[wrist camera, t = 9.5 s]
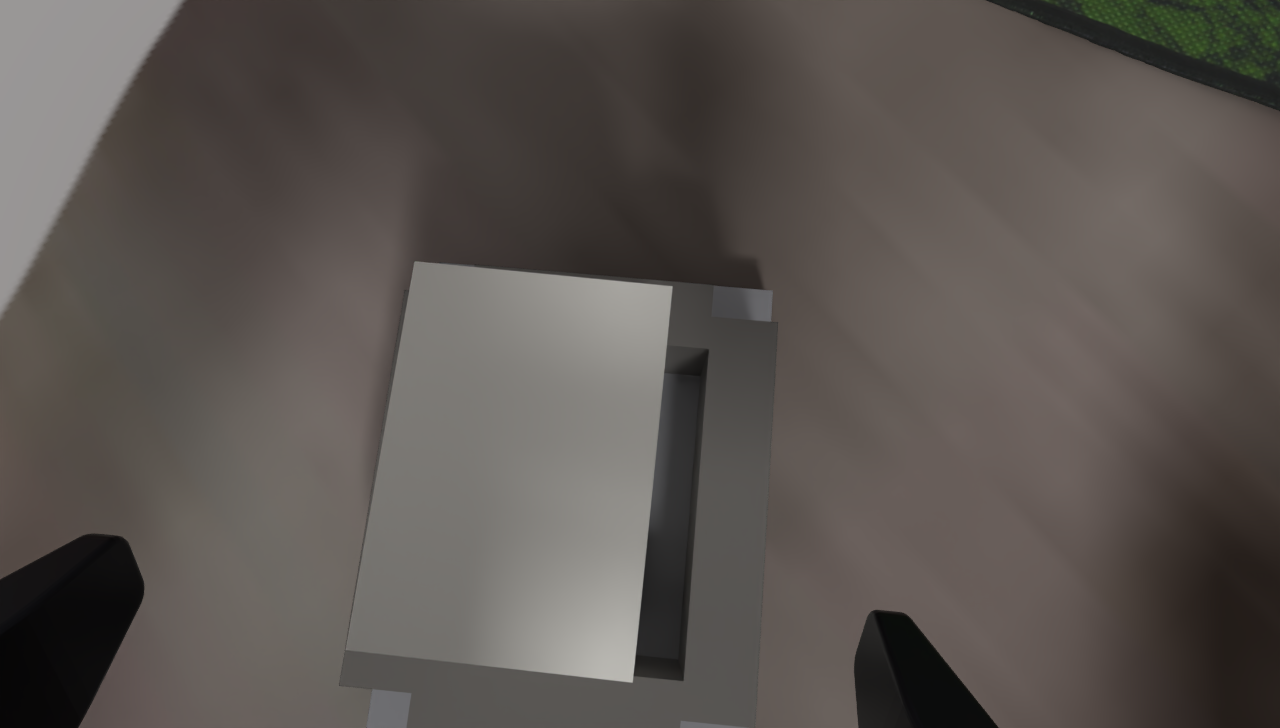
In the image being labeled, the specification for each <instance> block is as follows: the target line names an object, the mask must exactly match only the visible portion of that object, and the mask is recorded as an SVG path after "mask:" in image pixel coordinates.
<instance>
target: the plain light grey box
mask: <svg viewBox="0 0 1280 728" xmlns="http://www.w3.org/2000/svg"><path fill="white" fill-rule="evenodd" d="M672 287H673V286H664V285H654V284H644V283H633V282H623V281H613V280H602V279H592V278H582V277H572V276H561V275H551V274H541V273H530V272H520V271H510V270H500V269H489V268H479V267H469V266H458V265H448V264H438V263H428V262H417V261H414V267H413V273H412V278H411V284H410V289H409V295H408V301H407V306H406V312H405V318H404V323H403V329H402V334H401V340H400V346H399V351H398V357H397V363H396V368H395V374H394V379H393V385H392V391H391V396H390V402H389V408H388V413H387V419H386V424H385V430H384V436H383V441H382V447H381V453H380V458H379V464H378V469H377V475H376V481H375V486H374V492H373V498H372V503H371V509H370V515H369V520H368V526H367V531H366V537H365V543H364V548H363V554H362V560H361V565H360V571H359V576H358V582H357V588H356V593H355V599H354V605H353V610H352V616H351V621H350V627H349V633H348V638H347V644H346V650H350V651H359V652H367V653H376V654H385V655H394V656H403V657H411V658H420V659H429V660H438V661H446V662H455V663H464V664H473V665H482V666H490V667H499V668H508V669H517V670H525V671H534V672H543V673H552V674H560V675H569V676H578V677H587V678H596V679H604V680H613V681H622V682H631V683H633V675H634V665H635V656H636V647H637V637H638V628H639V618H640V609H641V599H642V589H643V579H644V569H645V559H646V549H647V540H648V530H649V520H650V510H651V500H652V490H653V480H654V470H655V460H656V450H657V440H658V430H659V420H660V410H661V400H662V390H663V380H664V369H665V359H666V349H667V339H668V328H669V318H670V308H671V298H672Z"/></svg>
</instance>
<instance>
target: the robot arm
mask: <svg viewBox="0 0 1280 728" xmlns="http://www.w3.org/2000/svg"><path fill="white" fill-rule="evenodd" d="M143 595H144V581H143V578H142V575H141V573H140V570H139V568H138V565H137V563H136V560H135V558H134V555H133V553H132V550H131V547H130V545H129V543H128V542H127V540H125V539H124V538H123V537H120V536H115V535H104V534H87V535H83V536H81V537H79V538H77V539H75V540H73V541H71V542H70V543H68V544H66V545H64V546H62V547H60V548H58V549H56V550H55V551H53V552H51V553H49V554H47V555H45V556H43V557H41V558H40V559H38V560H36V561H34V562H32V563H30V564H28V565H26V566H25V567H23V568H21V569H19V570H17V571H15V572H13V573H11V574H10V575H8V576H6V577H4V578H2V579H0V728H78V727H79V725H80V723H81V722H82V720H83V718H84V716H85V714H86V712H87V711H88V709H89V707H90V705H91V703H92V701H93V699H94V697H95V695H96V693H97V691H98V689H99V687H100V685H101V683H102V681H103V679H104V677H105V675H106V673H107V671H108V669H109V667H110V665H111V663H112V661H113V659H114V657H115V655H116V653H117V651H118V649H119V647H120V645H121V643H122V641H123V639H124V637H125V635H126V633H127V631H128V629H129V627H130V625H131V623H132V621H133V619H134V617H135V615H136V613H137V611H138V609H139V607H140V604H141V602H142V599H143ZM854 677H855V689H856V701H857V714H858V726H859V728H998V726H997V725H996V724H995V723H994V721H993V720H992V719H991V718H990V716H989V715H988V714H987V713H986V711H985V710H984V709H983V708H982V706H981V705H980V704H979V703H978V701H977V700H976V699H975V698H974V696H973V695H972V694H971V693H970V691H969V690H968V689H967V688H966V686H965V685H964V684H963V683H962V681H961V680H960V679H959V678H958V676H957V675H956V674H955V673H954V671H953V670H952V669H951V668H950V667H949V665H948V664H947V663H946V662H945V660H944V659H943V658H942V657H941V655H940V654H939V653H938V652H937V650H936V649H935V648H934V647H933V645H932V644H931V643H930V642H929V640H928V639H927V638H926V637H925V635H924V634H923V633H922V632H921V630H920V629H919V628H918V627H917V625H916V624H915V623H914V622H913V620H912V619H911V618H910V617H909V616H908V615H906V614H904V613H901V612H893V611H883V610H873V611H871V612H870V614H869V615H868V617H867V620H866V623H865V626H864V629H863V632H862V635H861V639H860V642H859V645H858V648H857V651H856V655H855V663H854Z"/></svg>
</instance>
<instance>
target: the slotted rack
mask: <svg viewBox="0 0 1280 728" xmlns="http://www.w3.org/2000/svg"><path fill="white" fill-rule="evenodd" d="M439 264H448V265H458V266H469V267H479V268H489V269H500V270H510V271H520V272H530V273H541V274H551V275H561V276H572V277H582V278H592V279H602V280H613V281H623V282H633V283H644V284H654V285H664V286H673V287H672V298H671V308H670V318H669V328H668V339H667V349H666V359H665V369H664V380H663V390H662V400H661V410H660V420H659V430H658V440H657V450H656V460H655V470H654V480H653V490H652V500H651V510H650V520H649V530H648V540H647V549H646V559H645V569H644V579H643V589H642V599H641V609H640V618H639V628H638V637H637V647H636V656H635V665H634V675H633V683H631V682H622V681H613V680H604V679H596V678H587V677H578V676H569V675H560V674H552V673H543V672H534V671H525V670H517V669H508V668H499V667H490V666H482V665H473V664H464V663H455V662H446V661H438V660H429V659H420V658H411V657H403V656H394V655H385V654H376V653H367V652H359V651H350V650H346V646H345V652H344V658H343V664H342V670H341V676H340V682H339V686H346V687H356V688H365V689H372V694H371V701H370V707H369V713H368V720H367V726H366V728H755V722H756V704H757V686H758V669H759V651H760V633H761V616H762V598H763V580H764V563H765V545H766V527H767V510H768V492H769V474H770V457H771V439H772V421H773V404H774V386H775V368H776V351H777V333H778V322H771V312H772V295H773V291H770V290H758V289H747V288H735V287H723V286H714V285H708V284H697V283H685V282H673V281H662V280H650V279H638V278H626V277H615V276H603V275H591V274H580V273H568V272H556V271H544V270H533V269H521V268H509V267H498V266H486V265H466V264H454V263H442V262H440V263H439ZM408 295H409V290H405V292H404V298H403V304H402V310H401V316H400V322H399V328H398V334H397V340H396V346H395V352H394V358H393V364H392V370H391V376H390V382H389V388H388V394H387V400H386V406H385V412H384V418H383V424H382V430H381V436H380V442H379V448H378V454H377V460H376V466H375V472H374V478H373V484H372V490H371V496H370V502H369V508H368V514H367V520H366V526H365V532H364V538H363V544H362V550H361V556H360V562H359V568H358V574H357V580H356V586H355V592H354V598H353V604H352V610H353V605H354V599H355V593H356V588H357V582H358V576H359V571H360V565H361V560H362V554H363V548H364V543H365V537H366V531H367V526H368V520H369V515H370V509H371V503H372V498H373V492H374V486H375V481H376V475H377V469H378V464H379V458H380V453H381V447H382V441H383V436H384V430H385V424H386V419H387V413H388V408H389V402H390V396H391V391H392V385H393V379H394V374H395V368H396V363H397V357H398V351H399V346H400V340H401V334H402V329H403V323H404V318H405V312H406V306H407V301H408ZM352 610H351V616H352ZM351 616H350V621H351ZM349 627H350V622H349ZM348 633H349V628H348ZM347 638H348V634H347ZM346 644H347V640H346Z"/></svg>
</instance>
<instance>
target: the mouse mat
mask: <svg viewBox="0 0 1280 728" xmlns="http://www.w3.org/2000/svg"><path fill="white" fill-rule="evenodd" d="M987 1H989V2H992V3H995V4H997V5H1000V6H1002V7H1004V8H1007V9H1009V10H1012V11H1016V12H1018V13H1020V14H1023V15H1025V16H1027V17H1030V18H1033V19H1036V20H1038V21H1040V22H1042V23H1044V24H1047V25H1050V26H1053V27H1056V28H1058V29H1061V30H1063V31H1066V32H1069V33H1071V34H1074V35H1076V36H1079V37H1082V38H1084V39H1087V40H1089V41H1090V42H1092V43H1094V44H1097V45H1100V46H1103V47H1105V48H1109V49H1112V50H1115V51H1117V52H1119V53H1121V54H1123V55H1125V56H1128V57H1131V58H1134V59H1136V60H1140V61H1143V62H1145V63H1146V64H1149V65H1153V66H1155V67H1157V68H1160V69H1162V70H1164V71H1167V72H1170V73H1172V74H1175V75H1178V76H1181V77H1183V78H1186V79H1189V80H1192V81H1195V82H1198V83H1201V84H1204V85H1207V86H1210V87H1213V88H1216V89H1219V90H1222V91H1225V92H1228V93H1231V94H1234V95H1237V96H1240V97H1243V98H1246V99H1249V100H1252V101H1255V102H1258V103H1260V104H1263V105H1265V106H1268V107H1271V108H1273V109H1276V110H1279V111H1280V0H987Z"/></svg>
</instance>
